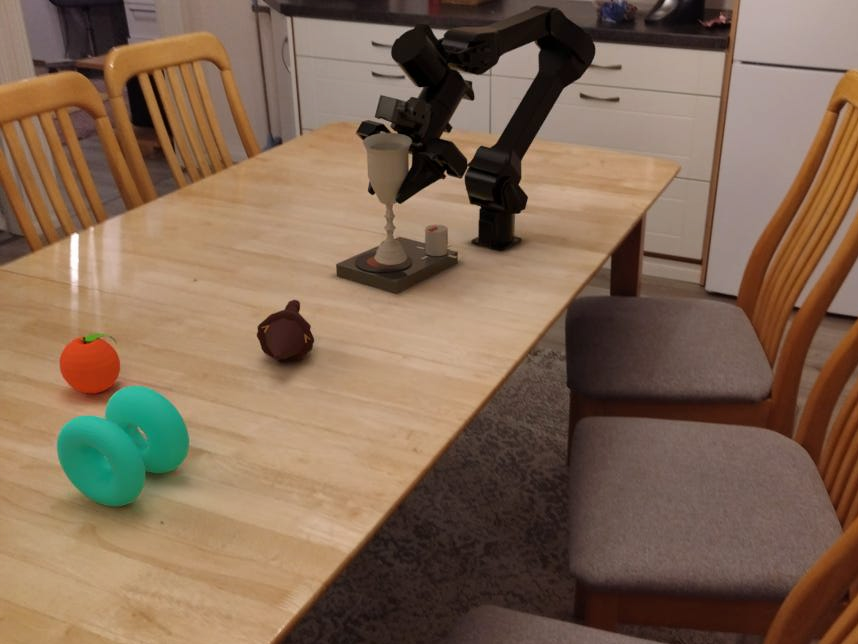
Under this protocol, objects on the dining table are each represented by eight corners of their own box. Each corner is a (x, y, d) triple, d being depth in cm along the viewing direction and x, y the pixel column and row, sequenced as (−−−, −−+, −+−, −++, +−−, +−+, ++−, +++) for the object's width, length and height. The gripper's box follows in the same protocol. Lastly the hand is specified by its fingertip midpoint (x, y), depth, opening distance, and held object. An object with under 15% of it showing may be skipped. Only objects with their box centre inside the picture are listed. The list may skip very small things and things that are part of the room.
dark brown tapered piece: (312, 338, 122) (325, 300, 136) (252, 323, 121) (270, 287, 134) (302, 389, 126) (315, 347, 139) (243, 375, 124) (261, 334, 138)
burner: (379, 248, 162) (379, 247, 162) (423, 260, 158) (423, 259, 157) (342, 264, 156) (342, 263, 155) (387, 277, 151) (387, 276, 151)
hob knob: (434, 246, 163) (434, 221, 160) (452, 251, 161) (452, 225, 159) (420, 253, 160) (420, 227, 158) (438, 258, 158) (438, 231, 156)
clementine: (104, 369, 128) (93, 318, 124) (143, 382, 125) (133, 330, 122) (53, 394, 123) (40, 341, 119) (93, 408, 120) (81, 354, 116)
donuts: (61, 498, 104) (40, 414, 98) (127, 453, 111) (110, 372, 106) (139, 522, 100) (121, 436, 95) (200, 474, 108) (187, 392, 103)
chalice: (390, 272, 151) (387, 154, 139) (358, 258, 154) (352, 142, 143) (423, 256, 155) (422, 140, 144) (390, 243, 158) (387, 129, 147)
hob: (405, 245, 169) (404, 233, 168) (470, 263, 163) (470, 250, 161) (336, 276, 157) (335, 262, 156) (403, 296, 150) (403, 282, 149)
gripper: (361, 62, 147) (309, 154, 146) (453, 82, 136) (398, 180, 136) (402, 109, 156) (353, 195, 155) (491, 131, 146) (439, 223, 145)
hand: (383, 197), depth 147 cm, fingers closed on chalice, 5 cm apart
